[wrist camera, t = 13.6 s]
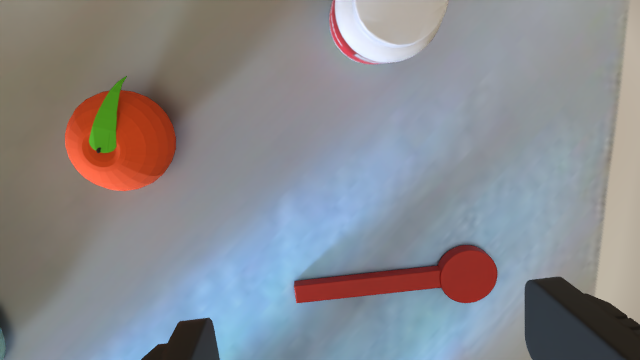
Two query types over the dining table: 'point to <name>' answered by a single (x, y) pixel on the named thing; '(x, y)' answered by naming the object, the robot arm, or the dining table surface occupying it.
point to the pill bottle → (384, 28)
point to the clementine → (120, 139)
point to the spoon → (412, 279)
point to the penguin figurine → (2, 345)
